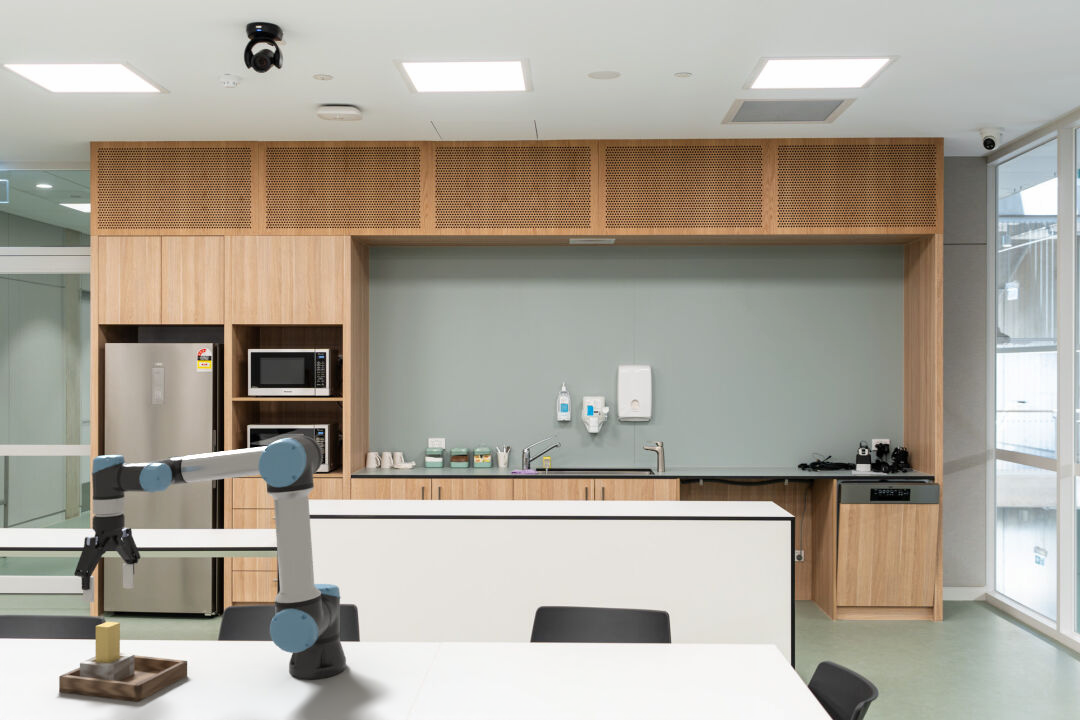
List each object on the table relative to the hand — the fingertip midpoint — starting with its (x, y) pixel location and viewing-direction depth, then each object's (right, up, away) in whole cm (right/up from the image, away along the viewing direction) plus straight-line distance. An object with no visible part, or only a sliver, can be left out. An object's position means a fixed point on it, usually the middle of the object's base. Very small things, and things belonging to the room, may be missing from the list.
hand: (108, 595), depth 218 cm
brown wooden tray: (+5, -23, -2) cm, 23 cm away
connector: (0, -22, 0) cm, 22 cm away
